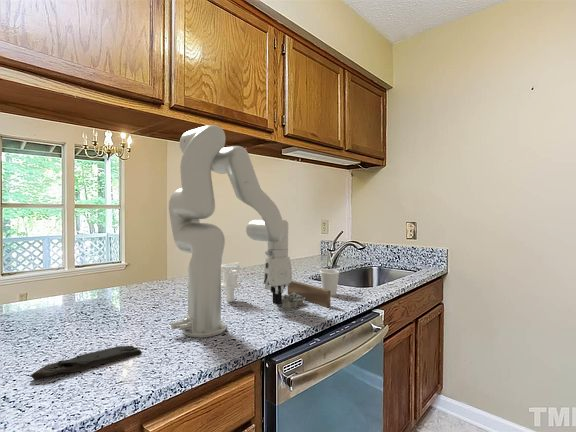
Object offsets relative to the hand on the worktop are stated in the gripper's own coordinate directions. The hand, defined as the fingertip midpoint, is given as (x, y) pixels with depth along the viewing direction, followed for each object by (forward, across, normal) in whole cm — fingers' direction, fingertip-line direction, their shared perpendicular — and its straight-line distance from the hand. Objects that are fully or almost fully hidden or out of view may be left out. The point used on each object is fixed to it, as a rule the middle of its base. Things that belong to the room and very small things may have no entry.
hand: (277, 303), depth 119 cm
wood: (+2, -60, -5) cm, 60 cm away
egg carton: (+2, +7, +1) cm, 7 cm away
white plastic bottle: (+2, -8, +19) cm, 21 cm away
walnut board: (+2, +16, 0) cm, 16 cm away
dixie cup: (+2, +30, +1) cm, 30 cm away
